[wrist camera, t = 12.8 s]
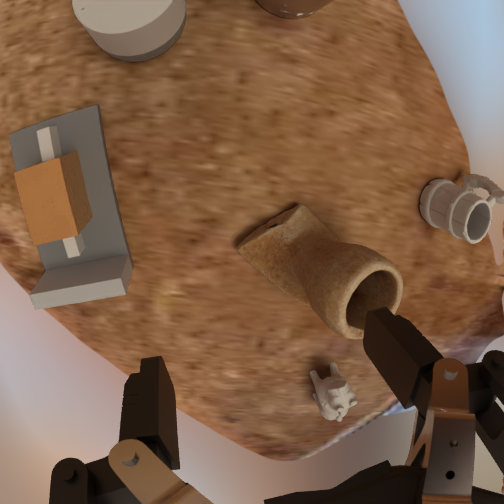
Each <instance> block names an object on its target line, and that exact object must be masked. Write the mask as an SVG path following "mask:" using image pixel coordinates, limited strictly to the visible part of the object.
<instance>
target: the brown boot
mask: <svg viewBox="0 0 504 504" xmlns="http://www.w3.org/2000/svg"><path fill="white" fill-rule="evenodd" d="M237 249H238V252H239V253H240V254H241V255H242V256H243V257H245V258H246V259H247V260H248V261H249V262H250V263H251V264H252V265H253V266H254V267H255V268H256V269H257V270H259V271H260V272H261V273H262V274H263V275H264V276H266V277H268V278H269V280H271V281H272V282H273V283H274V284H275V285H276V286H278V287H279V288H280V289H281V290H282V291H284V292H285V293H286V294H288V295H289V296H290V297H292V298H293V299H295V300H296V301H298V302H300V303H302V304H304V305H308V306H309V305H311V307H312V309H313V310H314V311H315V312H316V314H317V315H318V316H319V317H320V318H321V319H322V320H323V321H324V323H325V324H326V325H327V326H328V327H329V328H330V329H332V330H333V331H334V332H335V333H337V334H339V335H341V336H343V337H346V338H349V339H363V336H364V328H365V319H366V313H367V312H368V311H370V310H373V309H377V308H380V307H384V306H385V307H387V308H388V309H389V310H390V311H391V312H392V313H393V314H395V312H396V310H397V308H398V306H399V304H400V301H401V297H402V291H403V280H402V277H401V274H400V272H399V270H398V269H397V267H396V266H395V265H394V264H393V263H392V262H391V261H390V260H388V259H387V258H385V257H383V256H382V255H380V254H379V253H378V252H376V251H374V250H372V249H370V248H367V247H365V246H362V245H357V244H349V243H343V242H340V241H339V240H338V239H337V237H336V236H335V235H334V234H333V233H332V232H331V231H330V230H329V229H328V228H327V227H326V226H325V225H324V224H323V223H322V222H321V221H320V220H318V219H317V218H316V217H315V216H314V215H313V214H312V213H311V211H310V210H309V209H308V208H307V207H305V206H304V205H302V204H300V205H297V206H296V207H295V208H293V209H290V210H288V211H285V212H283V213H282V214H280V215H278V216H276V217H275V218H272V219H271V220H269V221H268V222H267V223H266V224H264V225H262V226H260V227H258V228H257V229H255V230H254V231H253V232H252V233H251V234H250V235H248V236H247V237H246V238H245V239H244V240H243V241H242V242H241V243H240V244H239V245H238V247H237Z"/></svg>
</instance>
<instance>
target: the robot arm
mask: <svg viewBox="0 0 504 504" xmlns="http://www.w3.org/2000/svg"><path fill="white" fill-rule="evenodd" d="M256 1H257V2H258V3H259V4H260V5H261V6H262V7H263V8H264V9H266V10H267V11H269V12H270V13H272V14H275V15H277V16H280V17H283V18H290V19H298V18H304V17H307V16H309V15H311V14H313V13H315V12H316V11H318V10H319V9H321V8H322V7H324V6H326V5H327V4H329V3H330V2H332V1H334V0H256ZM363 346H364V350H365V352H366V354H367V356H368V357H369V358H370V360H371V361H372V363H373V364H374V366H375V367H376V368H377V370H378V371H379V373H380V374H381V376H382V377H383V378H384V380H385V381H386V383H387V384H388V386H389V387H390V388H391V390H392V391H393V393H394V394H395V396H396V397H397V398H398V400H399V401H400V403H401V404H402V406H403V407H404V409H407V408H409V407H412V406H414V405H415V406H416V408H417V412H416V416H415V422H414V429H413V435H412V441H411V446H410V451H409V454H408V458H407V460H406V463H405V465H399V466H391V465H390V463H389V461H388V460H386V461H384V462H382V463H379V464H377V465H374V466H372V467H369V468H367V469H364V470H362V471H360V472H358V473H357V474H355V475H354V476H352V477H351V478H349V479H347V480H346V481H344V482H343V483H341V484H339V485H338V486H336V487H334V488H332V489H328V490H318V491H305V492H295V493H291V494H287V495H283V496H279V497H274V498H270V499H266V500H264V504H504V478H503V487H502V493H503V494H499V493H495V492H492V491H488V490H485V489H481V488H478V487H475V486H472V482H473V471H474V457H475V431H476V433H477V434H478V436H479V437H480V439H481V440H482V442H483V443H484V445H485V446H486V448H487V449H488V451H489V452H490V454H491V456H492V457H493V459H494V460H495V462H496V463H497V465H498V467H499V468H500V470H501V471H502V473H503V475H504V412H503V411H502V409H501V408H500V407H499V405H498V404H497V403H496V401H495V400H496V398H497V397H498V399H499V400H500V401H501V402H502V404H503V405H504V352H502V351H498V350H492V351H489V352H487V353H486V354H485V355H484V357H483V359H482V362H480V363H474V364H468V365H464V364H463V363H462V362H461V361H459V360H458V359H455V358H444V357H443V356H442V355H441V354H440V353H439V352H438V351H437V349H436V348H435V347H434V346H433V345H432V344H431V343H430V342H429V341H428V340H427V339H426V338H425V337H424V336H422V333H421V332H420V331H419V330H417V329H416V327H415V326H414V325H413V324H412V323H411V322H410V321H409V320H407V319H405V318H403V317H402V316H400V315H396V316H395V315H394V314H393V313H392V312H391V311H390V310H389V309H388V308H387V307H385V306H384V307H380V308H377V309H373V310H370V311H368V312H367V313H366V319H365V328H364V336H363ZM123 396H124V398H123V403H122V405H123V407H122V412H121V423H120V435H119V442H118V443H117V444H116V445H115V446H114V447H113V448H112V449H111V451H110V453H109V455H108V456H107V457H105V458H102V459H99V460H96V461H93V462H90V463H87V464H84V463H83V462H82V461H80V460H79V459H76V458H66V459H63V460H61V461H59V462H58V463H57V464H56V465H55V467H54V468H53V471H52V476H51V485H50V498H49V504H213V503H212V502H211V501H210V500H208V499H207V498H206V497H205V496H203V495H202V494H201V493H199V491H197V490H196V489H195V488H194V487H193V486H191V485H190V484H188V483H185V482H184V481H182V480H181V479H180V478H179V477H178V476H177V475H176V474H174V473H173V471H172V470H177V469H180V461H179V448H178V435H177V418H176V398H175V391H174V387H173V384H172V381H171V379H170V376H169V373H168V371H167V368H166V366H165V363H164V360H163V358H162V356H156V357H149V358H142V359H141V365H140V373H133V374H131V375H130V376H129V378H128V380H127V381H126V383H125V386H124V394H123Z"/></svg>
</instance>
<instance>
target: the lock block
mask: <svg viewBox="0 0 504 504" xmlns="http://www.w3.org/2000/svg"><path fill="white" fill-rule="evenodd" d="M14 175H15V180H16V184H17V188H18V192H19V196H20V200H21V204H22V207H23V211H24V214H25V218H26V221H27V225H28V228H29V231H30V234H31V238H32V241H33V244H34V246H36V245H40V244H44V243H48V242H52V241H56V240H61V239H65V238H69V237H74V236H78V235H79V234H80V233H81V231H82V230H83V229H84V228H85V226H86V225H87V224H88V223H89V221H90V220H91V219H92V218H93V215H92V212H91V208H90V204H89V199H88V195H87V191H86V187H85V182H84V178H83V173H82V168H81V163H80V158H79V153H78V151H74V152H71V153H68V154H65V155H62V156H60V157H57V158H54V159H50V160H47V161H44V162H39V163H36V164H33V165H31V166H28V167H26V168H24V169H21V170H19V171H17V172H14Z"/></svg>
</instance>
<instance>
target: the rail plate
mask: <svg viewBox="0 0 504 504" xmlns="http://www.w3.org/2000/svg"><path fill="white" fill-rule="evenodd" d="M9 138H10V144H11V149H12V155H13V160H14V165H15V169H16V172H17V171H19V170H21V169H24V168H26V167H28V166H31V165H33V164H36V163H39V162H44V161H47V160H50V159H54V158H57V157H60V156H62V155H65V154H68V153H71V152H74V151H78V153H79V158H80V163H81V168H82V173H83V178H84V182H85V187H86V191H87V195H88V199H89V204H90V208H91V212H92V215H93V218H92V219H91V220H90V221H89V223H88V224H87V225H86V226H85V228H84V229H83V230H82V231H81V233H80V234H79V235H78V236H74V237H69V238H65V239H61V240H56V241H52V242H48V243H44V244H40V245H36V246H37V248H38V251H39V254H40V257H41V260H42V263H43V265H44V268H45V273H44V274H43V276H42V277H41V278H40V280H39V281H38V283H37V284H36V285H35V287H34V288H33V290H32V291H31V293H30V294H29V296H30V299H31V301H32V303H33V305H34V307H35V309H43V308H49V307H55V306H61V305H67V304H73V303H79V302H85V301H91V300H97V299H103V298H108V297H114V296H120V295H126V292H127V289H128V285H129V281H130V277H131V274H132V270H133V266H134V265H133V261H132V258H131V254H130V251H129V247H128V243H127V239H126V236H125V232H124V228H123V224H122V220H121V216H120V212H119V207H118V203H117V199H116V194H115V190H114V185H113V180H112V176H111V171H110V166H109V160H108V155H107V150H106V144H105V139H104V133H103V127H102V120H101V114H100V107H99V105H94V106H90V107H87V108H84V109H80V110H77V111H74V112H70V113H67V114H64V115H61V116H58V117H55V118H52V119H49V120H46V121H43V122H41V123H38V124H35V125H32V126H30V127H27V128H24V129H22V130H19V131H17V132H14V133H12V134H9Z"/></svg>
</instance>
